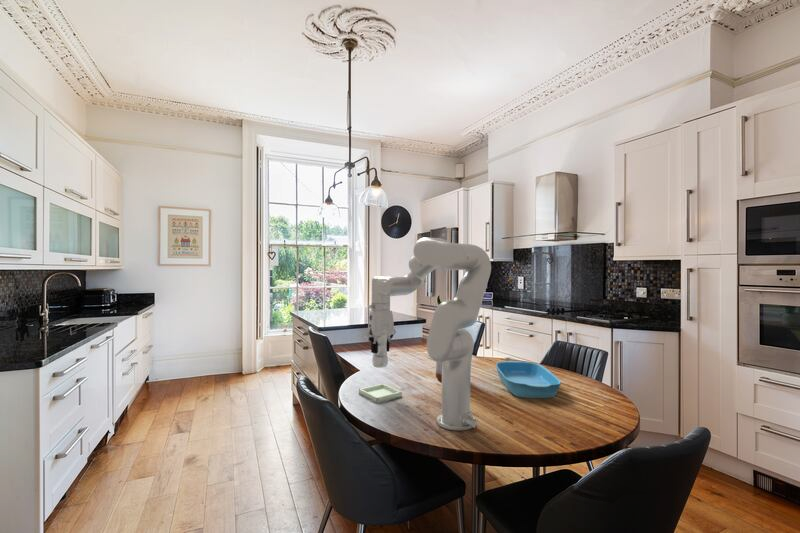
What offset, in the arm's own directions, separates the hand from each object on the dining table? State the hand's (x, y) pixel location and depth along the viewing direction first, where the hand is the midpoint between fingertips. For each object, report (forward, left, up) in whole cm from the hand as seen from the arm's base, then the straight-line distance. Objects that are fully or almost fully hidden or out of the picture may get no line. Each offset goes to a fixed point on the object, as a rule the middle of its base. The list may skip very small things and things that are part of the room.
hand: (380, 351), depth 153 cm
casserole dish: (-29, -57, -18) cm, 67 cm away
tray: (0, 0, -18) cm, 18 cm away
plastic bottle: (0, 0, -7) cm, 7 cm away
